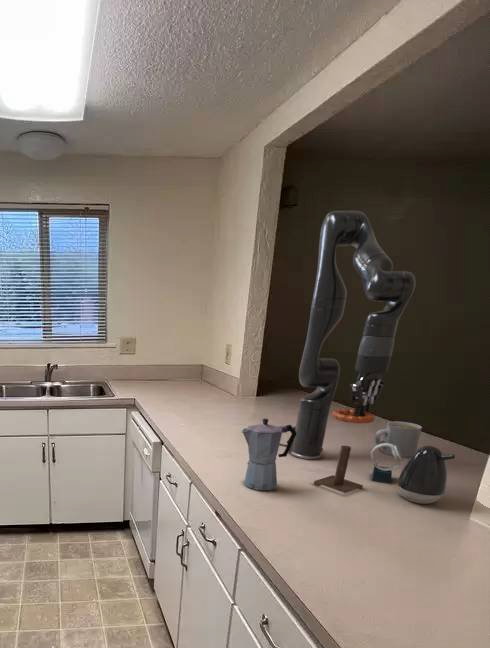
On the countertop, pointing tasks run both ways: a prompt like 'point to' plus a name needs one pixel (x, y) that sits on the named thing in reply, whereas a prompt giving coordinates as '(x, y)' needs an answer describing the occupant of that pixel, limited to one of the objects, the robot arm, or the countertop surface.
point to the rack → (340, 475)
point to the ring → (352, 416)
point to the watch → (385, 472)
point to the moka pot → (264, 453)
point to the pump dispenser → (424, 475)
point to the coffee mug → (400, 437)
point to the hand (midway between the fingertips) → (360, 417)
